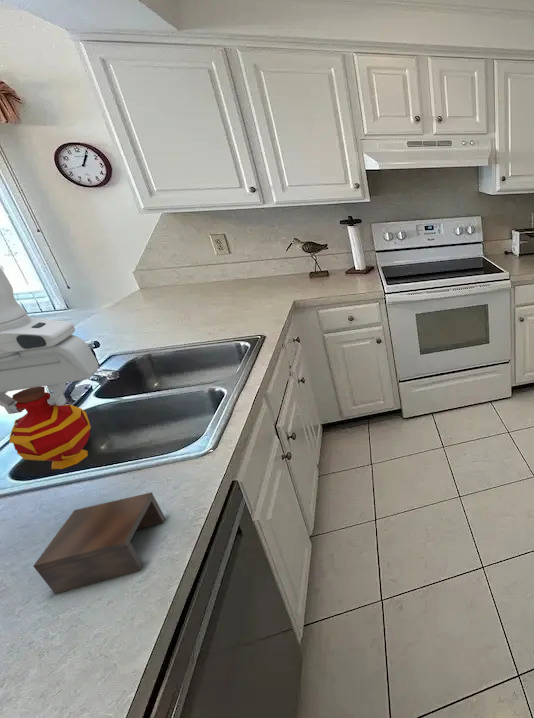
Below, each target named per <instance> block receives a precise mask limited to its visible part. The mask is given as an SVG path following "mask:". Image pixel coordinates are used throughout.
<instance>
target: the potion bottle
mask: <svg viewBox="0 0 534 718" xmlns="http://www.w3.org/2000/svg"><path fill="white" fill-rule="evenodd" d="M45 387H46V386H40V387H34V388H27V389H21V390H19V391H18V392H16V393H14V394H12V397H11V398H12V399H14V400H15V401H17V404H16V407H17V408H18V409H24V410H25V411H26V412H27V413H25V414H24V415H23V416H21V417H19V418H17V419H15V420H14V423H13V427H12V430H11V432H10V434H9V438H8V439H9V440H8V443H10V444H13V446H14V450H15V451H16V454H17V455H18V456H19V457H21V458H22V459H23V460H26V461H27V460H28V461H39V462H40V461H42V462H44V461H45V462H46V461H47V462H52V463H51V470H63V469H65V468H68V467H72V466H74V465H77V464H79V463H80V462H82V461H83V460H84V459H86V458H87V457H88V455H89V454H88V453H89V452H88V450H86V449H84V447H85V446H86V445H87V444H88V441H89V438H90V435H91V431H90V430H91V428H92V426H91V424H90V420H89V417H88V414H87V412H86V411H85V410H83V408H81V407H78V406H76V405H72V404H64V405H62V406H56V407H51V406H50V403H48V401H47V399H48V398H50V396H51V393H50V392H46V390H45V389H46V388H45Z"/></svg>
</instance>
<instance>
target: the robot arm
mask: <svg viewBox="0 0 534 718" xmlns="http://www.w3.org/2000/svg"><path fill="white" fill-rule="evenodd" d="M75 331H76V328H75V326H74V324H73V323H72V322H71V321H68V320H67V321H66V320H56V319H47V318H41V317H35V316H29V315H28V313H27V311H26V310H25V308H24V307H22V306H21V305H20V304H19V302H17V300H16V298H15V296H14V289H13V286H12V284H11V282H10V280H9V279H8V276H7V275H6V273H5V272H4V270H3V269H2V267H1V266H0V406H1V407H3V408H4V409H5V411H6V412H7V414H8V415H11V414H12V415H13V414H19V413H22V412H23V411H25V409H18V408H17V407H16V404H17V401H15V400H14V399H12V397H11V396H10V395H8V394H7V393H8V392H13V391H22V390H25V389H29V388H34V387H42V386H45V387H47V389H48V390H49V391H53V392H52V394H51V395H50V398H48V399H47V402H48V403H50V406H51V407H56V406H62V405H66V403H67V398H66V397H65V394H64V392H65V390H66V389H65V388H66V386H67V383H73V382H79V381H80V382H81V381H85V380H89V379H90V378H91V377H93V376H94V375H95V374H96V373H97V371H98V369H99V367H100V365H99V362H98V360H97V357H96V356H95V355H94V353H93V352H92V350H91V348H90V347H89V345H88V344H87V343H86V342H85V340H84V339H83V338H81V337H80V336H77V335H73V334H74V333H75Z"/></svg>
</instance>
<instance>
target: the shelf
mask: <svg viewBox="0 0 534 718" xmlns="http://www.w3.org/2000/svg"><path fill="white" fill-rule="evenodd" d="M165 520H166V517H165V515H164V513H163V510H162V509H161V507H160V504H159V503H158V502H157V499H156V498H155V496H154V494H153V492H147V493H142V494H138V495H134V496H129V497H125V498H121V499H117V500H112V501H108V502H104V503H100V504H95V505H91V506H86V507H82V508H77V509H74V510H73V511H72V513H71V514H70V516H68V517H67V519H66V520H65V522H64V524H63V525H62V526H61V528H60V529H59V530H58V532H57V533H56V534H55V536H54V537H53V538H52V540H51V541H50V542H49V544H48V545H47V546H46V548H45V549H44V550H43V552H41V554H40V556H39V557H38V559H37V560H36V561H35V563H34V564H33V568H34V570H36V572H37V573H38V574H39V575H40V577H41V578H42V580H43V581H44V582H45V584H46V585H47V586H48V588H50V590H51V591H52V592H53V594H55V595H56V594H59V593H60V594H61V593H63V592H66V591H67V592H68V591H70V590H74V589H77V588H81V587H85V586H88V585H93V584H96V583H100V582H102V581H106V580H110V579H114V578H118V577H122V576H125V575H128V574H131V573H135V572H139V571H142V568H143V567H144V563H143V561H142V560H141V558H140V556H139V555H138V553H137V552H136V550H135V548H134V546H133V545H132V543H131V540H132V538H133V537H134V535H135V533H136V531H137V530H140V529H144V528H148V527H151V526H155V525H156V526H157V525H159V524H163V523H164V522H165Z"/></svg>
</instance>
